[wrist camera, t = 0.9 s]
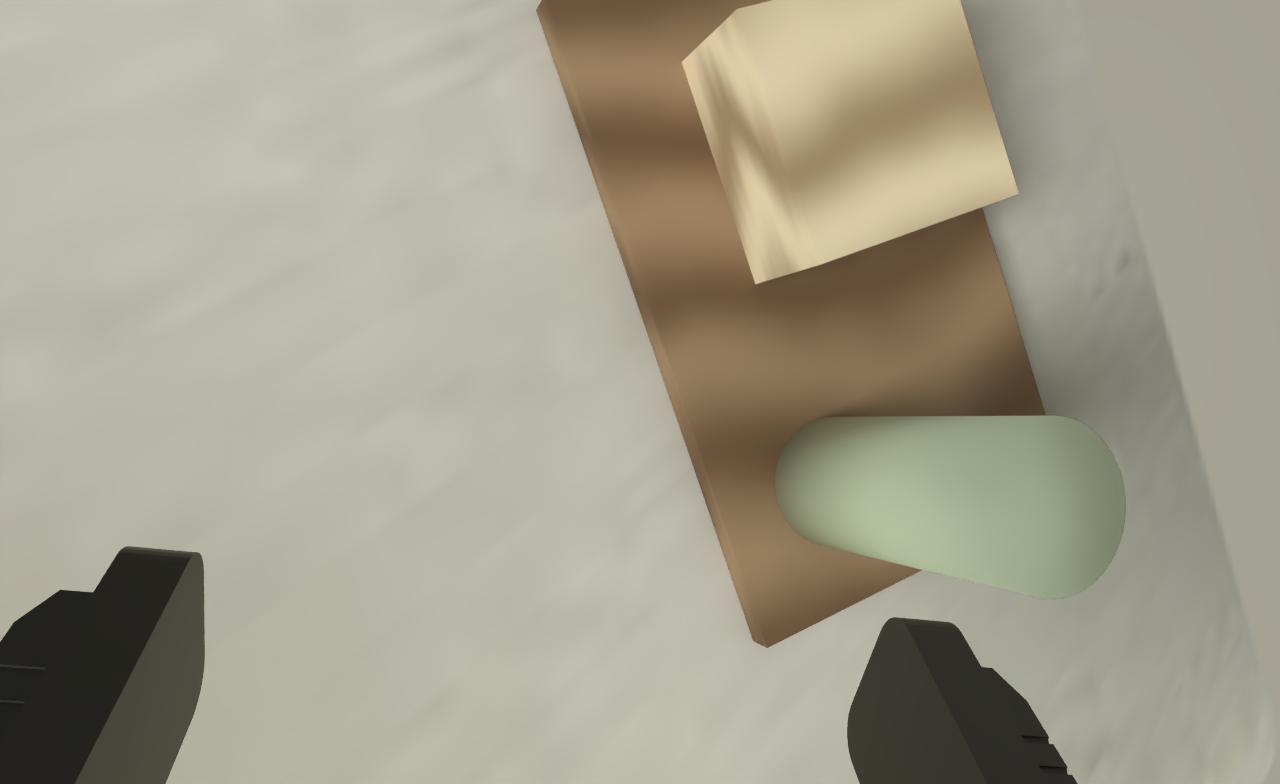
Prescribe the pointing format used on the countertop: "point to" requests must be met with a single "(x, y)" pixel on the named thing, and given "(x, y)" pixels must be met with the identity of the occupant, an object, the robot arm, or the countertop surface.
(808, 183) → the beech brick
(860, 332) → the walnut board
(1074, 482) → the sage cylinder
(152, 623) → the robot arm
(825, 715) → the countertop surface
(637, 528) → the countertop surface
